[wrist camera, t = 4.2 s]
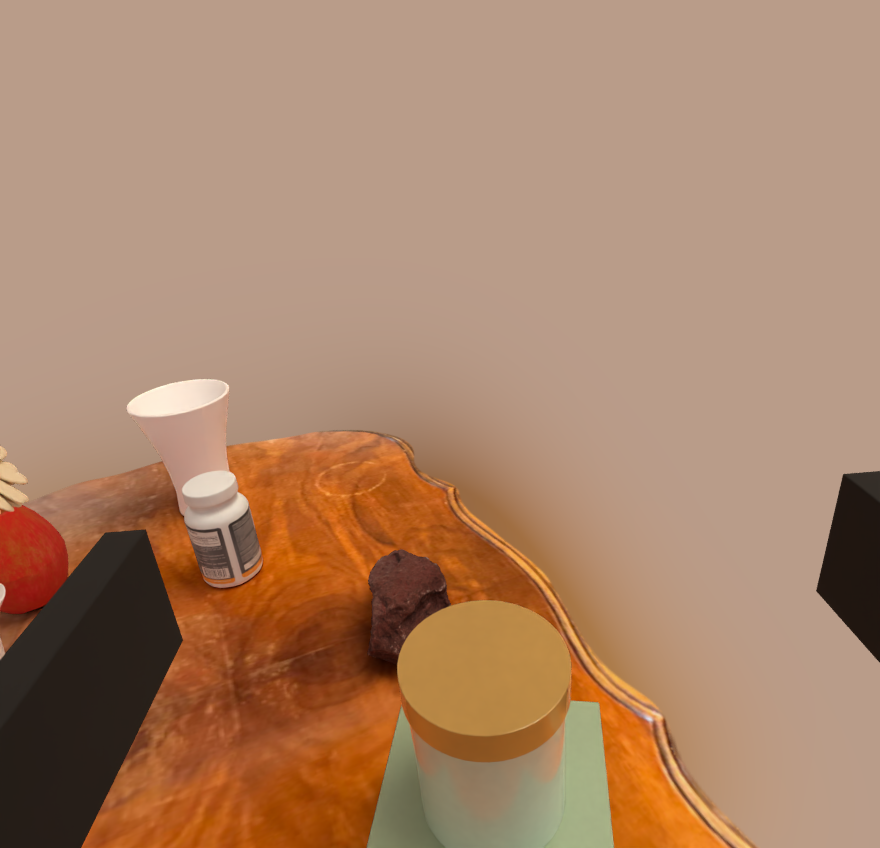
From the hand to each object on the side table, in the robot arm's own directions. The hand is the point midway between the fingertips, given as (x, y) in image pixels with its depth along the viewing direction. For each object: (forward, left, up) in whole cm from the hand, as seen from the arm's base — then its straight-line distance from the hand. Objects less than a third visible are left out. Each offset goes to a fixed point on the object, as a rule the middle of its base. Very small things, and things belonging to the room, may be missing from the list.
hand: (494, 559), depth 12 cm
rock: (+28, +11, -28) cm, 41 cm away
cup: (+46, +38, -28) cm, 66 cm away
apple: (+29, +47, -28) cm, 62 cm away
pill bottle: (+34, +29, -28) cm, 52 cm away
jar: (+10, +2, -21) cm, 23 cm away
